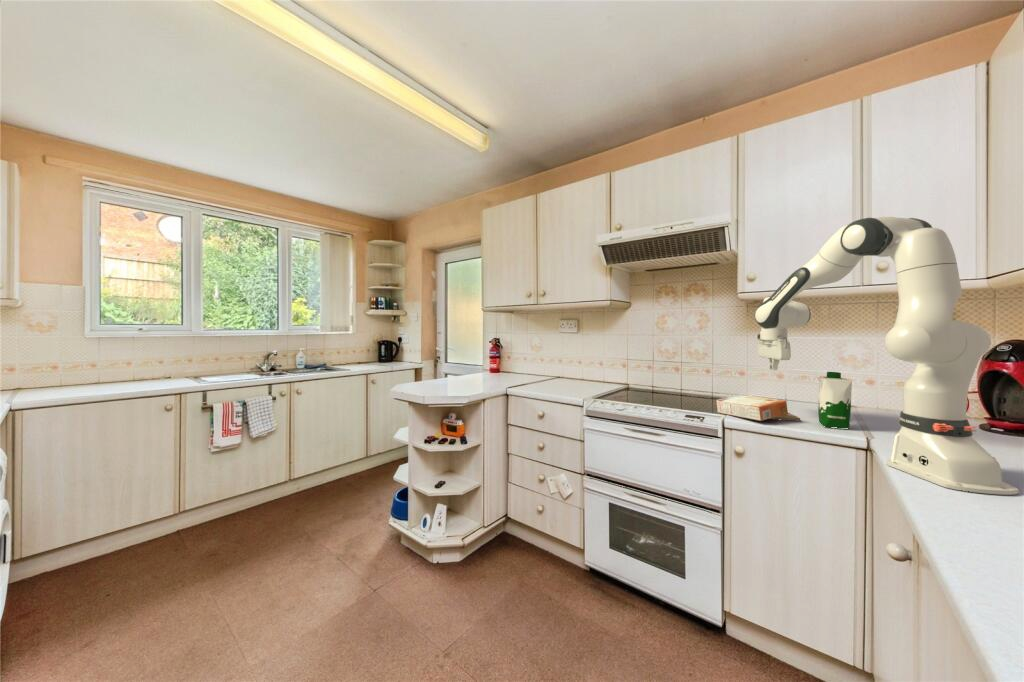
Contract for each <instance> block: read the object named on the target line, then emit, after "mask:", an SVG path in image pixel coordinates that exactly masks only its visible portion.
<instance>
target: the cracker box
mask: <svg viewBox="0 0 1024 682" xmlns="http://www.w3.org/2000/svg"><path fill="white" fill-rule="evenodd" d="M715 400H716V407H717V408H716V409H717V413H719V414H724V415H729V416H734V417H739V418H743V419H749V420H753V421H754V420H755V421H758V422H759V421H760V422H763V421H766V420H767V419H771V418H775V417H779V416H783V415H788V413H789V411H788V404H787V400H783V399H777V398H776V399H775V398H767V397H760V396H754V395H753V396H752V395H746V394H739V395H734V396H729V397H725V398H720V399H715ZM767 421H768V420H767Z"/></svg>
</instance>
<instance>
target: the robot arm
mask: <svg viewBox="0 0 1024 682" xmlns="http://www.w3.org/2000/svg"><path fill="white" fill-rule="evenodd" d="M867 256H870V257H880V258H881V257H883V258H885V257H886V258H887V257H889V258H891V259H892V260H893V264H894V271H895V272H894V274H895V279H896V287H897V294H898V308H897V314H896V318H895V322H894V324H893V327H892V328H891V329H890V330H889V331H888V332H887V334H886V335H885V339H884V346H885V349H886V351H887V352H888V353H889V355H891V356H892V357H893V358H895V359H897V360H900V361H902V362H903V361H904V362H906V363H907V362H908V363H912V364H916V367H915V368H914V371H913V373H912V374H911V376H910V377H909V378H907V380H906V381H905V382H904V385H903V393H902V394H903V396H902V397H903V398H902V400H903V401H902V411H900V413H899V418H898V419H899V425H900V429H899V431H898V432H897V433H896V434H895V436H894V440H893V446H892V451H891V456H890V459H887V460H886V465H887V466H888V467H892V468H894V469H897V470H899V471H903V472H904V473H906V474H909V475H912V476H915V477H918V478H920V479H923V480H925V481H927V482H930V483H933V484H935V485H938V486H940V487H943V488H946V489H952V490H957V491H961V490H962V491H963V492H968V491H969V493H979V494H986V495H988V494H989V495H1001V496H1002V495H1005V496H1008V495H1009V496H1012V495H1018V494H1019V493H1020V490H1019V488H1017V487H1015V486H1013V485H1011V484H1009V483H1008V482H1005V481H1003V478H1002V467H1001V465H1000V463H999V461H997V458H995V457H994V456H992V455H991V454H990V453H989V452H988V451H987V450H986V449H985V448H984V447H983V446H982V445H981V444H979V442H977V441H976V440H975V439H974V437H973V432H977V430H975V429H977V428H978V427H977V426H971V425H970V422H969V420H968V419H967V405H968V396H969V393H968V392H969V388H970V384H971V381H972V379H973V377H974V374H975V371H976V369H977V366H978V365H979V361H980V360H981V358H982V357H983V356H984V355H985V354H986V353H987V352H988V351H989V349H990V347H991V344H992V340H991V337H990V335H989V334H990V333H988V331H986V330H985V329H984V328H982V327H980V326H978V325H976V324H972V323H969V322H965V321H960V320H959V321H958V320H953V318H954V317H953V316H954V311H955V306H956V304H957V302H958V300H959V299H960V298H961V297H962V294H963V291H962V285H961V279H960V273H959V267H958V262H957V257H956V254H955V249H954V247H953V245H952V243H951V240H950V238H949V236H948V235H947V233H946V232H945V231H944V230H942V229H940V228H937V227H933V226H932V224H930V222H927V221H926V220H924V219H919V218H913V217H908V218H907V217H906V218H905V217H895V216H882V217H865V218H860V219H857V220H854V221H852V222H850V223H849V224H845V225H843V226H841V227H840V228H839V229H838V230H837V231H835V232H834V234H832V235H831V236H830V237H829V238H828V240H827V241H825V243H824V244H823V245H822V246H821V247H820V249H819V251H818V252H817V253H816V254H815V255H814V256H813V257H811V259H810V260H809V261H807V263H805V264H804V265H802V266H801V267H799V268H798V269H796V270H794V272H792V273H791V274H790V275H789V276H788V277H787V278H786V279H785V280H784V281H783V282H782V284H781V285H780V286H779V287H778V288H777V289H775V291H774V292H773V293H772V294H771V295H768V296H766V297H764V298H763V301H762V303H761V304H759V306H758V307H757V308H756V309H755V312H754V320H755V321H756V324H758V325H759V327H760V332H759V333H758V334H756V340H758V341H757V354H758V356H759V357H761V358H767V362H768V367H769V370H771V371H778V368H779V364H780V361H790V360H791V358H792V357H791V356H792V354H791V352H792V351H791V343H790V341H789V340H788V331H789V330H788V329H789V328H801V327H804V326H806V325H807V324H808V323H809V322H810V320H811V317H812V316H811V314H812V313H811V309H810V307H809V306H808V305H807V304H806V303H803V302H799V301H795V300H794V298H796V297H797V296H798V295H799V294H800V293H801V292H803V291H806V290H808V289H811V288H815V287H819V286H823V285H824V286H825V285H828V284H833V283H837V282H839V281H841V280H842V279H843V278H845V277H846V276H847V275H849V274H850V273H851V272H852V271H853V269H854V268H855V267H856V266H857V265H858V263H859V262H860V261H861V259H862V258H863V257H867ZM962 491H961V492H962Z"/></svg>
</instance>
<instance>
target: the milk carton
mask: <svg viewBox="0 0 1024 682" xmlns="http://www.w3.org/2000/svg"><path fill="white" fill-rule="evenodd" d="M818 386H819V387H818V410H817V411H818V423H819V422H820V423H821V424H822V425H823V426H825V427H837V428H848V429H849V430H850V423H851V414H852V413H851V411H852V410H851V409H852V386H853V381H852V380H851V379H848V378H847V377H842V373H841V372H840V371H826V376H819V385H818ZM820 423H819V424H820ZM821 424H820V425H821ZM822 425H821V426H822ZM823 426H822V427H823Z"/></svg>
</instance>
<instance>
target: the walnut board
mask: <svg viewBox="0 0 1024 682" xmlns="http://www.w3.org/2000/svg"><path fill="white" fill-rule="evenodd" d="M771 419H781V420H780V421H785V420H800V421H801V418H800V417H799V416H796V415H794V414H792V413H790V412H788V415H783V416H779V417H775V418H771Z"/></svg>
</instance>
